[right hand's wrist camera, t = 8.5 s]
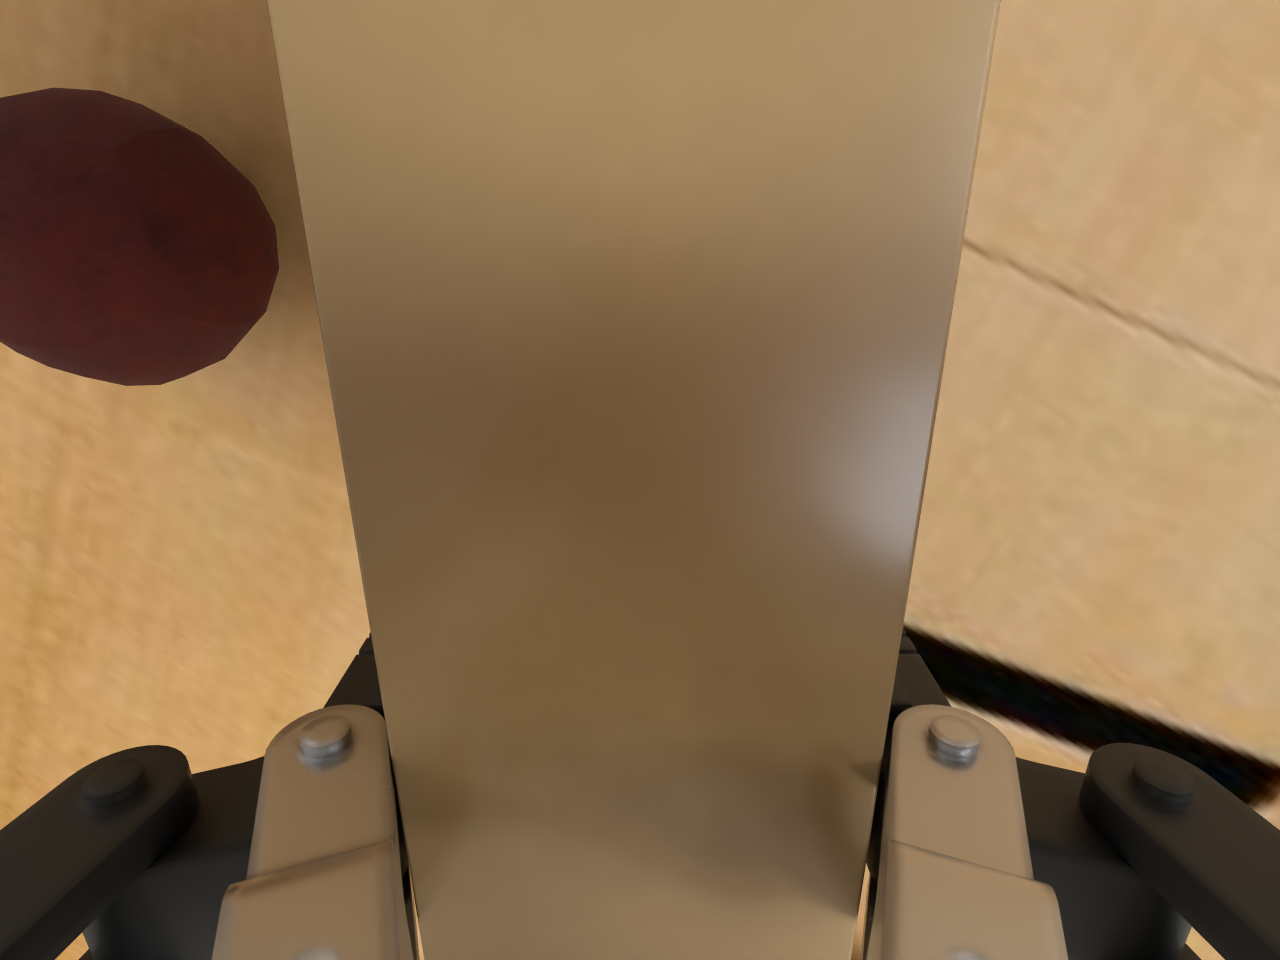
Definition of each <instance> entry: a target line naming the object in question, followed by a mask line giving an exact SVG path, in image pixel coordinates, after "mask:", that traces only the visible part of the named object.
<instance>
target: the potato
mask: <svg viewBox="0 0 1280 960" xmlns="http://www.w3.org/2000/svg"><path fill="white" fill-rule="evenodd" d="M278 270H279V264H278V253H277V242H276V231H275V225H274V223H273V221H272V219H271V217H270V215H269V213H268V212H267V210H266V208H265V206H264V204H263V202H262V200H261V198H260V196H259V194H258V193H257V191H256V189H255V187H254V185H253V184H252V183H250V182H249V181H248V180H247V179H246V178H245V177H244V176H243V175H242V174H241V173H240V172H239V171H238V170H237V169H236V168H235V167H234V166H233V165H232V164H231V163H230V162H229V161H227V160H226V159H225V158H224V157H223V156H222V155H221V154H220V153H219V152H218V151H217V150H216V149H215V148H214V147H213V146H211V145H210V144H209V143H208V142H207V141H206V140H205V139H204V138H202V137H201V136H200V135H198V134H196V133H194V132H192V131H190V130H188V129H187V128H185V127H183V126H181V125H179V124H177V123H175V122H173V121H172V120H170V119H168V118H166V117H164V116H162V115H160V114H159V113H157V112H155V111H153V110H151V109H149V108H147V107H146V106H144V105H142V104H139V103H135V102H132V101H129V100H126V99H123V98H120V97H117V96H114V95H111V94H108V93H105V92H102V91H93V90H79V89H65V88H49V89H44V90H39V91H34V92H29V93H24V94H18V95H13V96H8V97H3V98H0V342H2V343H3V344H5V345H6V346H8V347H10V348H11V349H13V350H14V351H16V352H18V353H20V354H22V355H24V356H26V357H29V358H31V359H33V360H35V361H37V362H40V363H42V364H44V365H46V366H49V367H52V368H55V369H59V370H62V371H66V372H69V373H73V374H76V375H80V376H83V377H88V378H93V379H97V380H102V381H107V382H111V383H116V384H121V385H125V386H134V385H161V384H164V383H167V382H170V381H173V380H176V379H179V378H182V377H184V376H187V375H189V374H191V373H193V372H196V371H198V370H200V369H202V368H205V367H207V366H209V365H211V364H214V363H216V362H218V361H221V360H223V359H225V358H226V357H227V356H228V354H229V353H230V352H231V351H232V350H233V349H234V347H235V346H236V345H237V344H238V343H239V342H240V341H241V339H242V338H243V337H244V336H245V335H246V334H247V333H248V331H249V330H250V329H251V328H252V327H253V326H254V324H255V323H256V322H257V321H258V320H259V319H260V318H261V316H262V315H263V314H264V313H265V312H266V310H267V306H268V303H269V300H270V296H271V293H272V290H273V286H274V283H275V280H276V276H277V273H278Z"/></svg>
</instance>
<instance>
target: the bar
mask: <svg viewBox="0 0 1280 960" xmlns="http://www.w3.org/2000/svg"><path fill="white" fill-rule="evenodd" d="M1000 1H1001V0H267V3H268V9H269V15H270V21H271V27H272V34H273V40H274V46H275V52H276V58H277V64H278V70H279V76H280V82H281V88H282V94H283V101H284V107H285V113H286V119H287V125H288V131H289V137H290V143H291V149H292V155H293V161H294V168H295V174H296V180H297V186H298V192H299V198H300V204H301V210H302V216H303V222H304V228H305V234H306V241H307V247H308V253H309V259H310V265H311V271H312V277H313V283H314V289H315V295H316V301H317V308H318V314H319V320H320V326H321V332H322V338H323V344H324V350H325V356H326V362H327V368H328V375H329V381H330V387H331V393H332V399H333V405H334V411H335V417H336V423H337V429H338V435H339V442H340V448H341V454H342V460H343V466H344V472H345V478H346V484H347V490H348V496H349V502H350V509H351V515H352V521H353V527H354V533H355V539H356V545H357V551H358V557H359V563H360V569H361V576H362V582H363V588H364V594H365V600H366V606H367V612H368V618H369V624H370V630H371V636H372V643H373V649H374V655H375V661H376V667H377V673H378V679H379V685H380V691H381V697H382V703H383V710H384V716H385V722H386V728H387V734H388V740H389V746H390V752H391V758H392V764H393V770H394V777H395V783H396V789H397V795H398V801H399V807H400V813H401V819H402V825H403V831H404V837H405V844H406V850H407V856H408V862H409V868H410V874H411V880H412V886H413V892H414V898H415V904H416V911H417V917H418V923H419V929H420V935H421V941H422V947H423V953H424V959H425V960H851V955H852V949H853V943H854V936H855V930H856V923H857V917H858V911H859V904H860V898H861V891H862V885H863V879H864V872H865V866H866V859H867V853H868V846H869V840H870V834H871V827H872V821H873V814H874V808H875V802H876V795H877V789H878V782H879V776H880V770H881V763H882V757H883V750H884V744H885V738H886V731H887V725H888V718H889V712H890V706H891V699H892V693H893V686H894V680H895V674H896V667H897V661H898V654H899V648H900V642H901V635H902V629H903V622H904V616H905V610H906V603H907V597H908V590H909V584H910V577H911V571H912V565H913V558H914V552H915V545H916V539H917V533H918V526H919V520H920V513H921V507H922V501H923V494H924V488H925V481H926V475H927V469H928V462H929V456H930V449H931V443H932V437H933V430H934V424H935V417H936V411H937V405H938V398H939V392H940V385H941V379H942V373H943V366H944V360H945V353H946V347H947V340H948V334H949V328H950V321H951V315H952V308H953V302H954V296H955V289H956V283H957V276H958V270H959V264H960V257H961V251H962V244H963V238H964V232H965V225H966V219H967V212H968V206H969V200H970V193H971V187H972V180H973V174H974V168H975V161H976V155H977V148H978V142H979V136H980V129H981V123H982V116H983V110H984V104H985V97H986V91H987V84H988V78H989V71H990V65H991V59H992V52H993V46H994V39H995V33H996V27H997V20H998V14H999V7H1000Z"/></svg>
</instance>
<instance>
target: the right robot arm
mask: <svg viewBox="0 0 1280 960" xmlns="http://www.w3.org/2000/svg"><path fill="white" fill-rule="evenodd" d="M369 635H370V636H369V638H367V639H366V640H365V642H364V644H363V645H362V647H361V648H360V650H359V655H356V656H355V658H354V660H353V661H352V663H351V664H350V666H349V668H348V669H347V671H346V672H345V674H344V676H343V677H342V679H341V680H340V682H339V684H338V685H337V687H336V688H335V690H334V692H333V693H332V695H331V696H330V698H329V700H328V701H327V703H326V705H325V706H324V708H322V709H319V710H316V711H313V712H310V713H308V714H306V715H304V716H302V717H300V718H298V719H296V720H295V721H293V722H291V723H290V724H288V725H287V726H286V727H284V728H283V729H282V730H281V731H280V732H279V733H278V734H277V735H276V736H275V737H274V738H273V740H272V741H271V742H270V744H269V746H268V748H267V749H266V753H265V756H263V757H260V758H258V759H255V760H251V761H248V762H244V763H240V764H235V765H231V766H226V767H222V768H218V769H213V770H209V771H204V772H200V773H195V774H191V771H190V767H189V764H188V761H187V758H186V756H185V755H184V754H183V753H182V752H181V751H179V750H177V749H175V748H172V747H169V746H161V745H148V746H141V747H135V748H131V749H126V750H123V751H120V752H117V753H113V754H111V755H109V756H106V757H104V758H101V759H99V760H97V761H95V762H93V763H91V764H89V765H87V766H86V767H84V768H82V769H81V770H79V771H77V772H76V773H74V774H73V775H72V776H70V777H69V778H67V779H66V780H65V781H63V782H62V783H61V784H60V785H58V786H57V787H56V788H54V789H53V790H52V791H50V792H49V793H48V794H47V795H45V796H44V797H43V798H41V799H40V800H39V801H38V802H36V803H35V804H34V805H32V806H31V807H30V808H29V809H27V810H26V811H25V812H23V813H22V814H21V815H19V816H18V817H17V818H16V819H14V820H13V821H12V822H10V823H9V824H8V825H7V826H5V827H4V828H3V829H1V830H0V960H55V959H56V958H57V957H58V956H59V955H60V954H61V953H62V952H63V951H64V950H65V949H66V948H67V947H68V946H69V945H70V944H71V943H72V942H73V941H74V940H75V939H76V938H77V937H78V936H79V935H80V934H81V933H82V932H83V935H84V937H85V940H86V942H87V944H88V947H89V949H88V951H87V952H86V953H85V954H84V955H83V956H82V957H81V958H80V959H79V960H420V959H419V949H418V938H417V928H416V917H415V907H414V896H413V886H412V880H411V874H410V868H409V862H408V856H407V850H406V844H405V837H404V831H403V825H402V819H401V813H400V807H399V801H398V795H397V789H396V783H395V777H394V770H393V764H392V758H391V752H390V746H389V740H388V734H387V728H386V722H385V716H384V710H383V703H382V697H381V691H380V685H379V679H378V673H377V667H376V661H375V655H374V649H373V643H372V636H371V632H370V634H369ZM866 863H867V866H868V869H869V872H870V874H869V880H868V886H867V897H866V907H865V917H864V928H863V938H862V949H861V959H860V960H1201V959H1200V958H1199V957H1198V956H1197V955H1196V954H1195V953H1194V952H1193V951H1192V950H1191V948H1190V947H1189V946H1188V945H1187V944H1186V943H1185V942H1186V940H1187V937H1188V935H1189V932H1190V930H1191V927H1193V928H1194V929H1195V930H1196V931H1197V932H1198V933H1199V934H1200V935H1201V936H1202V937H1203V938H1204V939H1205V940H1206V941H1207V942H1208V943H1209V944H1210V945H1211V946H1212V947H1213V948H1214V949H1215V950H1216V951H1217V952H1218V953H1219V954H1220V955H1221V956H1222V957H1223V958H1224V959H1225V960H1280V830H1279V829H1277V828H1276V827H1275V826H1273V825H1272V824H1271V823H1270V822H1268V821H1267V820H1266V819H1264V818H1263V817H1262V816H1261V815H1259V814H1258V813H1257V812H1255V811H1254V810H1253V809H1251V808H1250V807H1249V806H1248V805H1246V804H1245V803H1244V802H1242V801H1241V800H1240V799H1239V798H1237V797H1236V796H1235V795H1233V794H1232V793H1231V792H1229V791H1228V790H1227V789H1226V788H1224V787H1223V786H1222V785H1220V784H1219V783H1218V782H1217V781H1215V780H1214V779H1213V778H1211V777H1210V776H1209V775H1207V774H1206V773H1204V772H1203V771H1202V770H1200V769H1199V768H1197V767H1195V766H1194V765H1192V764H1190V763H1189V762H1187V761H1185V760H1183V759H1181V758H1179V757H1177V756H1174V755H1172V754H1169V753H1167V752H1164V751H1161V750H1158V749H1155V748H1152V747H1148V746H1143V745H1138V744H1131V743H1114V744H1108V745H1104V746H1102V747H1100V748H1098V749H1096V750H1095V751H1094V752H1093V753H1092V755H1091V757H1090V759H1089V763H1088V766H1087V770H1086V773H1080V772H1076V771H1071V770H1067V769H1062V768H1058V767H1054V766H1049V765H1045V764H1040V763H1036V762H1032V761H1028V760H1024V759H1020V758H1018V757H1016V756H1015V753H1014V749H1013V748H1012V746H1011V744H1010V742H1009V741H1008V740H1007V738H1006V737H1005V736H1004V735H1003V734H1002V733H1001V732H1000V731H999V730H998V729H997V728H996V727H994V726H993V725H992V724H990V723H989V722H987V721H985V720H984V719H982V718H980V717H978V716H976V715H974V714H972V713H970V712H967V711H964V710H961V709H958V708H954V707H951V705H950V704H949V702H948V700H947V699H946V697H945V696H944V694H943V692H942V691H941V689H940V687H939V686H938V684H937V683H936V681H935V679H934V678H933V676H932V674H931V673H930V671H929V669H928V668H927V666H926V665H925V663H924V661H923V660H922V658H921V656H920V655H919V654H917V653H916V648H915V647H914V645H913V643H912V642H911V640H910V639H909V637H906V632H905V630H904V629H902V635H901V642H900V648H899V654H898V661H897V667H896V674H895V680H894V686H893V693H892V699H891V706H890V712H889V718H888V725H887V731H886V738H885V744H884V750H883V757H882V763H881V770H880V776H879V782H878V789H877V795H876V802H875V808H874V814H873V821H872V827H871V834H870V840H869V846H868V853H867V859H866Z"/></svg>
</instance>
